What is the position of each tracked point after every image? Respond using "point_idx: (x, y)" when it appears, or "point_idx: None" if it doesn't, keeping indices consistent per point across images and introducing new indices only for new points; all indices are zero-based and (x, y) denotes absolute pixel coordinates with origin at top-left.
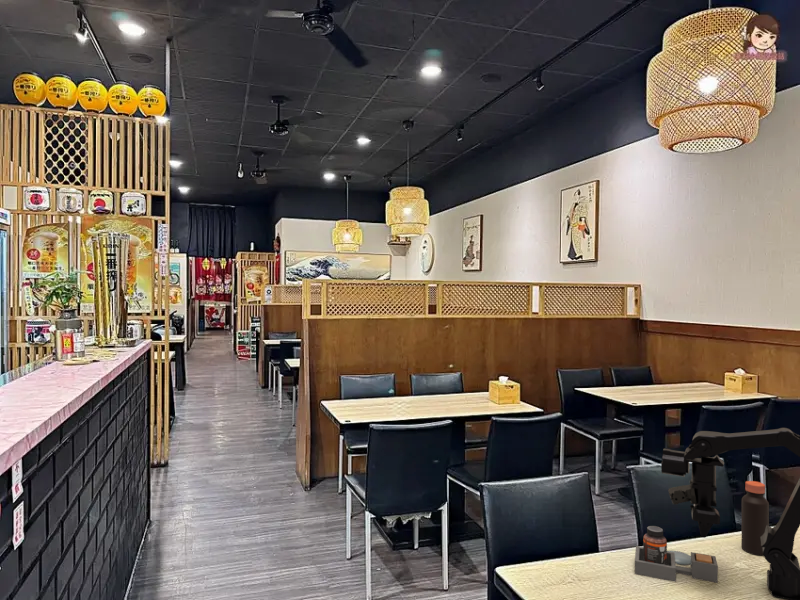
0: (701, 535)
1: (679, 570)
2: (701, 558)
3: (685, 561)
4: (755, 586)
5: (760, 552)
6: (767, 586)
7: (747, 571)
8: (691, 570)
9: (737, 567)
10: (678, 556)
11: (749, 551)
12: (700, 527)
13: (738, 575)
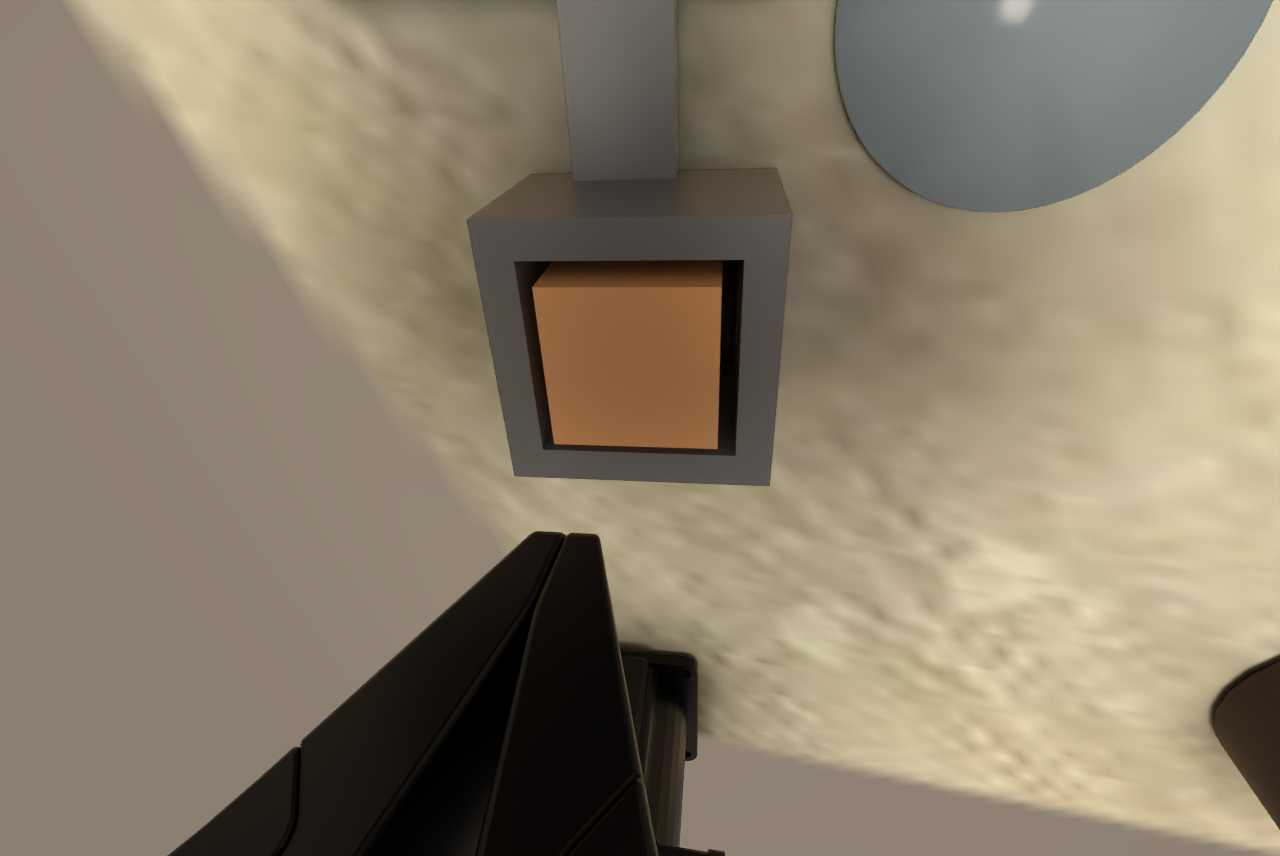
0: (515, 560)
1: (562, 31)
2: (580, 344)
3: (912, 111)
4: (642, 595)
5: (1226, 738)
6: (622, 659)
7: (881, 596)
8: (608, 180)
9: (938, 552)
10: (1068, 11)
11: (1269, 681)
12: (352, 729)
13: (781, 536)
